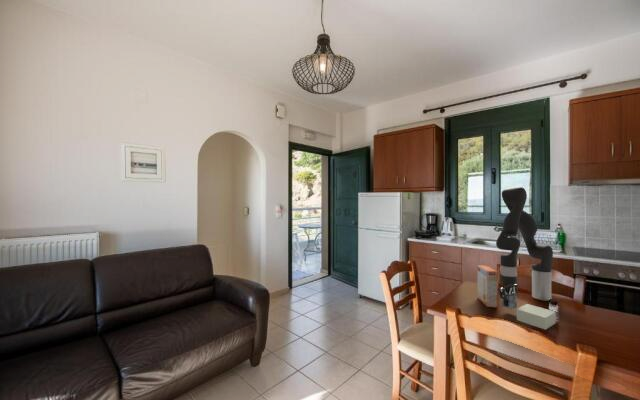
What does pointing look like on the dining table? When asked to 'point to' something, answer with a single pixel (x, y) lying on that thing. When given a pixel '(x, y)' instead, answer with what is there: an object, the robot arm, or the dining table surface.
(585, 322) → the dining table surface
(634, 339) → the dining table surface
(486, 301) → the cracker box
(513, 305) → the slate block
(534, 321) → the sage block
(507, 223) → the robot arm
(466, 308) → the dining table surface
